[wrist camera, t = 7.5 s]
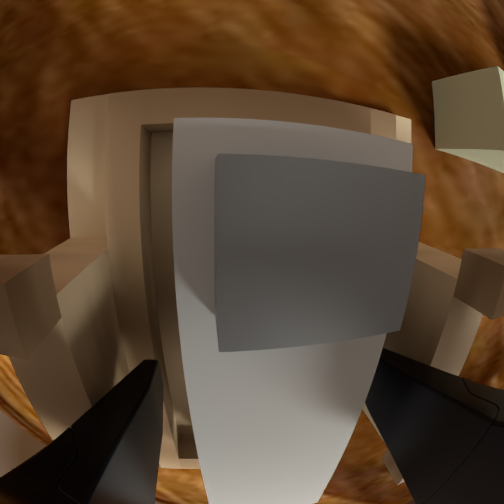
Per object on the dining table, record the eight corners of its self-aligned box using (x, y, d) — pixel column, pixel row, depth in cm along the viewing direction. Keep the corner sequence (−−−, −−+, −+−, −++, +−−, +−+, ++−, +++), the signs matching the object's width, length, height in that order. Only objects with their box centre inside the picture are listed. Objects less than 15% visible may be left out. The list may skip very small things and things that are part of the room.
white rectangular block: (286, 421, 12) (324, 520, 6) (204, 428, 11) (215, 537, 6) (314, 154, 9) (451, 142, 3) (191, 148, 8) (164, 100, 3)
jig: (347, 418, 14) (399, 505, 7) (129, 435, 12) (115, 542, 5) (399, 121, 10) (542, 108, 3) (80, 104, 8) (-52, 45, 1)
